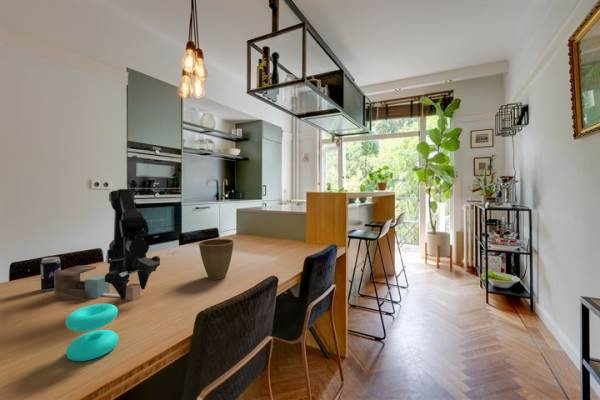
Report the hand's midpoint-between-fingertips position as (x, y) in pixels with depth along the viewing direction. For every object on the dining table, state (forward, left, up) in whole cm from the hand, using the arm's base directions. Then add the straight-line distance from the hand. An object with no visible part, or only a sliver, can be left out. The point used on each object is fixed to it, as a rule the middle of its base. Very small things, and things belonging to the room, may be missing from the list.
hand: (133, 293), depth 97 cm
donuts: (+30, +15, -2) cm, 33 cm away
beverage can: (-2, -37, -2) cm, 38 cm away
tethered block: (0, -8, -1) cm, 8 cm away
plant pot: (-27, +19, -2) cm, 33 cm away
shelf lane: (0, -22, -1) cm, 22 cm away
